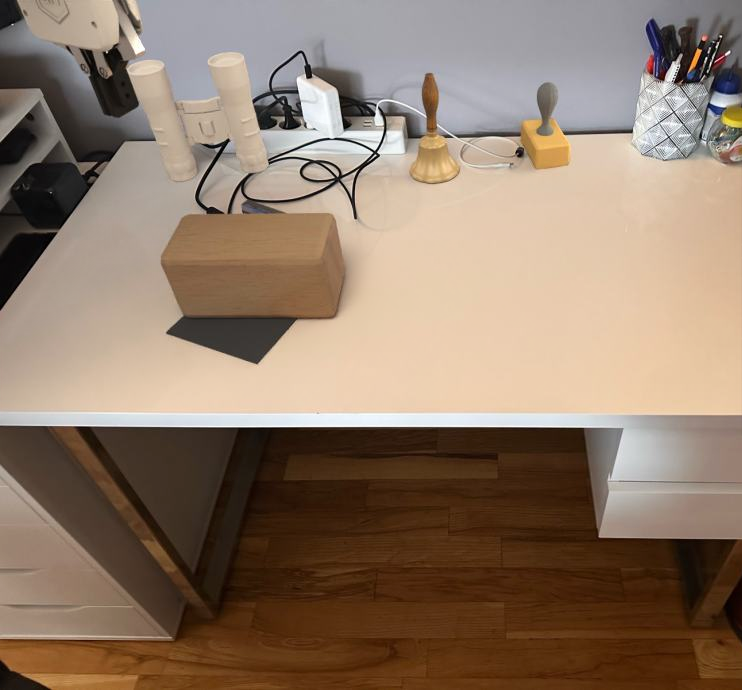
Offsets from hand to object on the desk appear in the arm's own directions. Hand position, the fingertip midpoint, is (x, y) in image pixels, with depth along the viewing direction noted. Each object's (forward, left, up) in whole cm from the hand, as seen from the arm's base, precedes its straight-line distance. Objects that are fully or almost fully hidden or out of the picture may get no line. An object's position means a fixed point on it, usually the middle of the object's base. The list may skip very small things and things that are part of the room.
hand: (122, 110), depth 67 cm
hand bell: (+44, -12, -29) cm, 54 cm away
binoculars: (+31, +22, -29) cm, 47 cm away
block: (+3, +4, -23) cm, 24 cm away
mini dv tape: (+17, +1, -29) cm, 33 cm away
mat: (+2, -4, -28) cm, 29 cm away
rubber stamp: (+56, -27, -29) cm, 68 cm away
